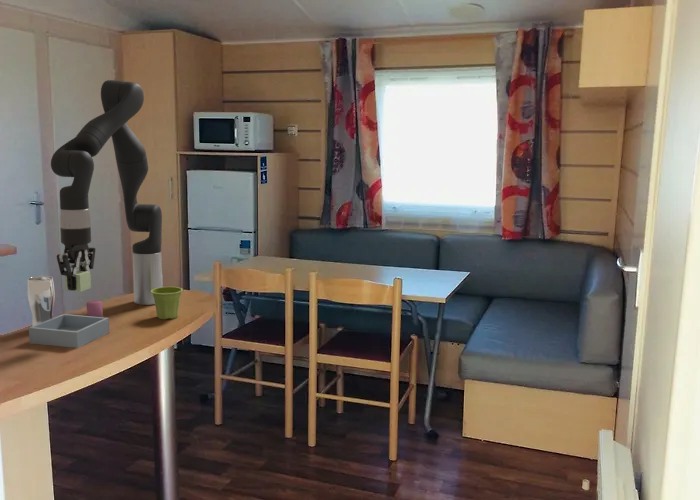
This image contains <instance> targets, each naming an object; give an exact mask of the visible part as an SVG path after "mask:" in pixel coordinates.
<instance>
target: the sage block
mask: <svg viewBox="0 0 700 500" xmlns="http://www.w3.org/2000/svg"><path fill="white" fill-rule="evenodd" d="M75 277H76V286H77V289H76V290H68V287H67V276H64V286H65V288H64V289H65V291H67V292H68V291H69V292H80V293H81V292H84V291H87V290H89V289H92V281H91V271H79V270H77V271H76V276H75Z"/></svg>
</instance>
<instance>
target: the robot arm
mask: <svg viewBox="0 0 700 500" xmlns="http://www.w3.org/2000/svg"><path fill="white" fill-rule="evenodd" d="M144 98H145V96H144V90H143V88H142V86H141V85H140V84H138V83H137V82H133V81H127V80H126V81H124V80H114V79H107V80H105V81H104V82H103V83H102V84H101V88H100V100H101V105H102V108H103V112H104V113H102V114H100V115H98V116H96V117H93V118H92V119H91V120H89V121H88V122H87V123H86V124H85V125H83V127H82V128H81V129H80V131H79V132H78V133H77V134H76V135H75V137H73V138H71V140H69V141H67V142H66V143H64V144H63V145H61V146H60V147H58V149H57V150H55V152H54V153H53V155H52V156H51V159H50V168H51V171H52V172H53V173H54V174H55V175H57V176H59V177H61V178H62V177H63V178H73V181H72V184H71V185H66V186H63V187H61V189H60V190H59V207H60V208H59V212H60V213H59V228H60V231H59V232H60V243H61V244H62V245H64V250H63V253H60V254H56V260H57V264H58V268H59V273H60V276H64V277H65V276H67V287H68V290H76V289H77V286H76V277H75V276H76V271H89V272H91V270H93V269H94V268H95V267H94V265H95V259H96V258H95V256H96V248H95V247H90V246H89V244H90V243H91V242H92V230H91V213H90V208H89V206H90V205H89V191H90V187H91V182H92V179H93V174H94V169H95V164H94V163H95V162H94V159H93V157H96V156H97V155H98V154H99V153H100V152H101V150H102V149H103V148H104V146H105V144H106V143H107V142H108V141H109V140H110V138H111V139H112V140H111V141H112V143H113V150H114V155H115V156H114V158H115V162H116V167H117V172H118V176H119V178H120V179H119V180H120V185H121V190H122V197H123V203H124V204H123V205H124V214H125V219H126V225H127V227H128V229H129V230H130V231H131V232H135V233H136V232H137V233H148V237H147V238H145V239H143V240H140V241H137V242H134V243H133V244H132V249H131V251H132V270H133V271H132V272H133V275H132V277H133V300H134V301H133V302H134V304H136V305H142V306H145V305H146V306H148V305H155V300H154V297H153V294H152V293H151V290H153V289H155V288H160V287H164V285H163V283H164V282H163V281H164V280H163V279H164V278H163V270H162V268H163V267H162V266H163V264H162V263H163V261H162V241H163V240H162V232H163V230H162V227H163V225H162V223H163V218H162V217H163V215H162V209H161V207H160V206H159V205H158V204H152V203H151V204H149V203H147V204H146V203H144V204H143V203H138V201H137V194H138V192H139V190H140V188H141V186H142V184H143V183H144V181H145V179H146V177H147V175H148V171H149V162H148V157H147V152H146V149H145V147H144V145H143V143H142V142H141V141H140V140H139V138H138V136H136V134H135V133H134V132H133V131H132V130H131V127H130V126H129V125H128V123H127V122H128V121H130V120H131V119H132V118H133V117H135V116H136V114H137V113H138V112H139V111H140V110H141V108H142V107H143V104H144V101H145V99H144Z"/></svg>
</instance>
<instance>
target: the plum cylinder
mask: <svg viewBox="0 0 700 500" xmlns="http://www.w3.org/2000/svg"><path fill="white" fill-rule="evenodd" d="M103 312H104V311H103V301H102V300H90V301H87V302H86V316H92V317H103V318H104V315H103Z"/></svg>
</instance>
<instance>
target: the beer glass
mask: <svg viewBox="0 0 700 500" xmlns="http://www.w3.org/2000/svg"><path fill="white" fill-rule="evenodd" d="M55 295H56V294H55V283H54V277H53V276H51V275H36V276H31V277H29V278H27V299H28V304H29V308H30V311H31V318H32V319H31V321H32V323H31V327H32V326H34V325H37V324H39V323H42V322H44V321H47V320H50V319H52V318H54V314H53V313H54V305H55Z"/></svg>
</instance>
